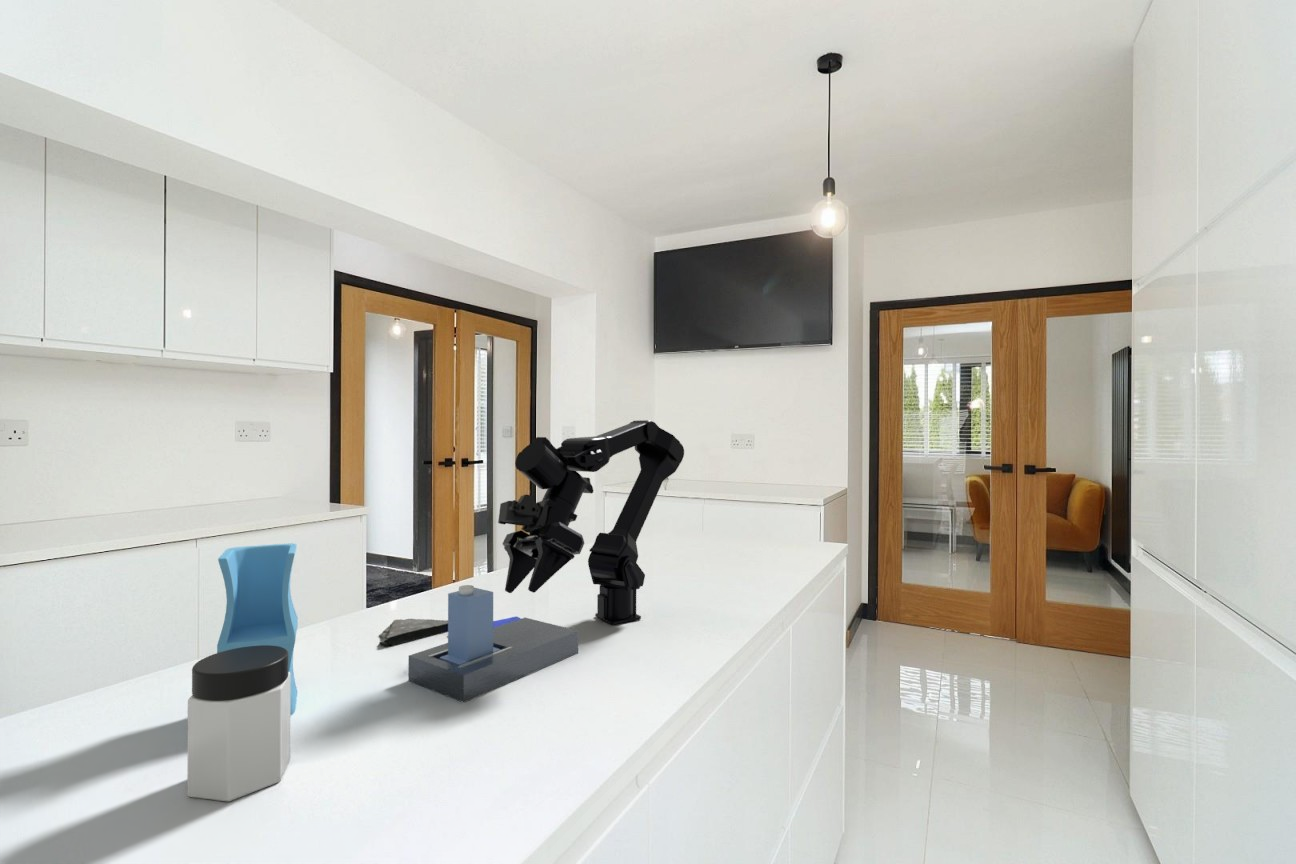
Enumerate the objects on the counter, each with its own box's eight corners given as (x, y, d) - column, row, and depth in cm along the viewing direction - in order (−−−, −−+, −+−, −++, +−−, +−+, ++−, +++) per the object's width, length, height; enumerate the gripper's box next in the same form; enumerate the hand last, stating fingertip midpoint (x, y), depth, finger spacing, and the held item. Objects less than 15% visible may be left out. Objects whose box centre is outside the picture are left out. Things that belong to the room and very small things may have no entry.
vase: (216, 730, 72) (217, 558, 72) (226, 703, 79) (227, 547, 79) (294, 715, 76) (295, 552, 76) (297, 691, 83) (297, 542, 83)
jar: (275, 747, 68) (275, 638, 68) (305, 773, 63) (305, 655, 63) (175, 782, 61) (176, 661, 61) (200, 814, 56) (200, 682, 56)
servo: (481, 666, 92) (481, 578, 92) (500, 672, 89) (501, 583, 89) (439, 681, 86) (439, 588, 86) (459, 689, 83) (459, 593, 83)
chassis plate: (524, 638, 104) (525, 616, 104) (578, 652, 97) (578, 630, 97) (408, 680, 86) (408, 654, 86) (463, 702, 79) (463, 674, 79)
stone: (384, 652, 99) (384, 638, 99) (358, 639, 106) (358, 626, 106) (459, 632, 109) (459, 619, 109) (431, 621, 116) (431, 609, 116)
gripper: (497, 488, 107) (454, 571, 100) (543, 469, 92) (496, 566, 85) (550, 518, 111) (512, 600, 104) (601, 505, 96) (562, 600, 89)
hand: (519, 591), depth 96 cm, fingers open, 9 cm apart
